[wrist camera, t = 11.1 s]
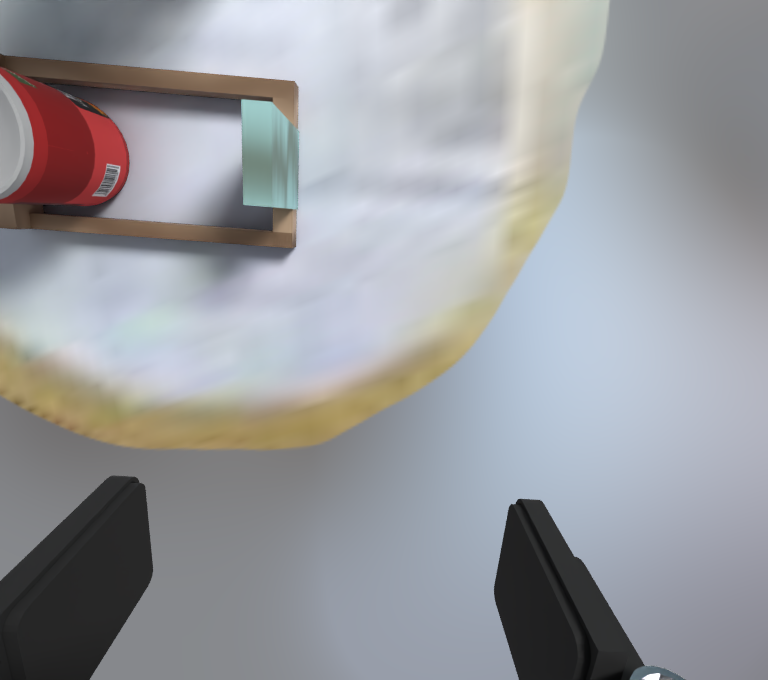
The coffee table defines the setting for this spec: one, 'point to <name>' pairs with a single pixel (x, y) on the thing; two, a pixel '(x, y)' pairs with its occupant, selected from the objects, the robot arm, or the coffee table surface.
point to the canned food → (56, 147)
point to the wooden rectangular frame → (259, 149)
